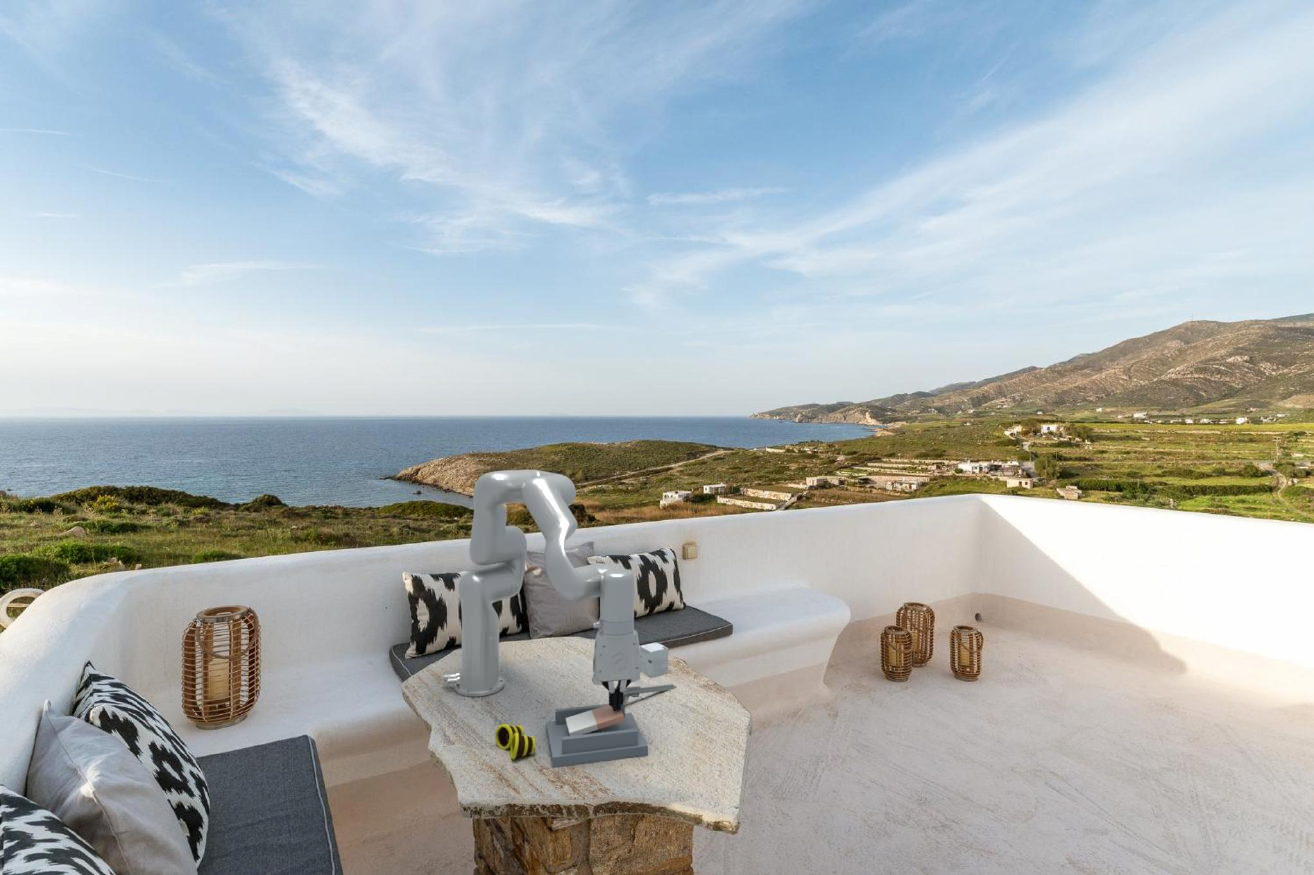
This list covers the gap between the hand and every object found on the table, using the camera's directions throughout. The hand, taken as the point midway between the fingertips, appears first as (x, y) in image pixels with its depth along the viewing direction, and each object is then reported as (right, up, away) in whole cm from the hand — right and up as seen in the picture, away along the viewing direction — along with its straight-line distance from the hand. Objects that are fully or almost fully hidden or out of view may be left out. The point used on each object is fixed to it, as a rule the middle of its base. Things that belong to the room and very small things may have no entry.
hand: (615, 708), depth 136 cm
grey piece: (-5, -7, -1) cm, 8 cm away
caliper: (+7, -8, +23) cm, 25 cm away
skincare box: (+8, -7, +40) cm, 41 cm away
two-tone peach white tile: (-4, -3, -1) cm, 5 cm away
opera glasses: (-21, -7, -5) cm, 23 cm away
